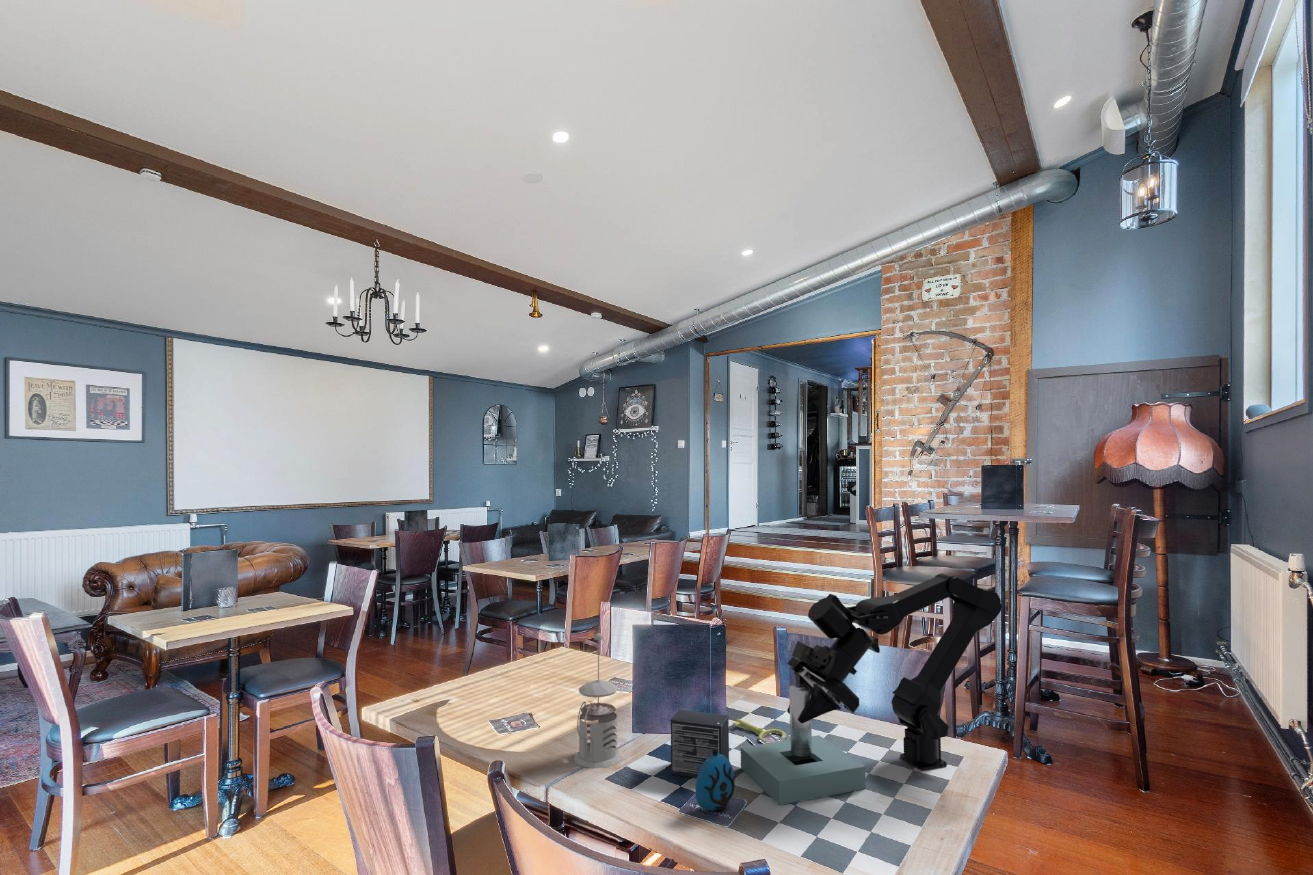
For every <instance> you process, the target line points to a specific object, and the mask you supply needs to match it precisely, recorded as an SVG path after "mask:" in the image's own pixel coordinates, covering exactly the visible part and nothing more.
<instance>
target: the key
mask: <svg viewBox="0 0 1313 875" xmlns="http://www.w3.org/2000/svg"><path fill="white" fill-rule="evenodd" d="M732 726H735V727H739V726H741V727H743V728H744V729H747V730H748V731H751V732H753V733H755V734H759V736H758V738H759V740H762V741H764V742H769V741H770V740H767V739H765V738H762V736H764V735H765V734H769V733H778V734H777V735H779V734H782V736H781V737H780V738H785V737H786V738H787V735H786V733H785V731H783V730H782V729H779V728H778V729H777V728H770V729H766V730H764V728H763V727H757V726H755V725H753V724H751V723H748V722H746V721H745V720H742V719H740V718H738V719H736V721H734V722H733V723H732ZM782 740H783V739H782Z"/></svg>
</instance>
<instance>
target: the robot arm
mask: <svg viewBox="0 0 1313 875" xmlns="http://www.w3.org/2000/svg"><path fill="white" fill-rule="evenodd" d="M946 599H950V600H952V601H953V603H952V619H951V621H950V622H949V624H948V626H947V627H946V629H945V631H944V632H943V634H942V636H941V637H940V638H939V640H938V642H937V644H936V645H935V647H934V648H933V650H932V651H931V653H930V655H929V656H928V658H927V660H926V661H925V662H924V665H923V666H922V668H921V670H920V672H919V673H917V676H914V677H913V678H912V679H909V678H907V677H904V676H903V677H902V679H900V681H899V683H898V685H897V687H896V688H895V690H893V691H892V694H893V697H892V699H891V703H890V704H891V706H892V711H893V713H894V714H895V715H896V716H897V719H898V722H899V724H901V725H903V726H905V727H907V728H904V737H903V753H899V757H900V759H903V760H904V761H906V762H907V763H909V764H911V765H912V766H914V767H916V768H918V769H919V770H922V771H923V770H930V769H935V768H940V767H945V766H948V762H947V761H945V760H944V759H942V749H941V748H942V745H941V742H942V741H941V739H942V738H946V737H947V734H948V733H949V732H948V731H949V727H950V726H949V725H948V724H947V723H946V722H945V720H943V719H942V718H941V716H939V715H938V714H939V712H940V709H941V707H942V706H941V705H942V704H941V692H942V690H943V689H944V686H945V685H946V684H947V681H948V680H949V678H950V676H951V675H952V673H953V672H954V669H955V668H956V667H957V665H958V664H959V661H960V660H961V658H962V657H963V654H964V653H965V651H966V650H967V648H968V646H969V645H970V643H971V641H973V638H974V637H975V635H976V634H977V633H978V632H979V631H981V630H983V629H985V628H986V627H989V626H990V625H991V624H992V623H993V621H995V619H997V617H998V616H999V615H1000V613H1001V612H1002V611H1001V610H1002V608H1003V604H1002V602H1001V601H1002V600H1001V598H1000V595H999V594H998V593H997V592H996V591H995V590H991V589H986V588H982V587H978V586H977V585H973V584H972V583H969V582H967V581H965V580H963V579H961V578H960V577H959V576H956V575H952V574H946V573H938V574H936V575H935V576H934V577H932V578H930V579H927V580H925V581H923V582H920V583H918V584H915V585H913V586H912V587H908V588H906V589H904V590H901V591H899V592H897V593H895V594H892V595H887V596H875V597H870V598H865V599H863V600H860V601H858V602H857V603H856V604H855V605H852V606H849V607H846V606H845V605H844V604H843V603H842V602H841V600H840V598H839V597H838V596H837V595H836V594H833V593H829V594H828V595H827V596H826V597H824V598H821V599H819V600H818V601H817V602H814V603H813V604H812V606H811V607H810V608H809V610H808V612H807V617H808V619H809V620H810V621H811V622H812V623H813V624H814V625H815V626H816V627H817V628H818V630H820V631H821V632H822V633H823V635H825V636H826V637H827V639H831V640H833V639H835V640H834V641H833V642H832V644H831V645H830V646H828V645H825V644H824V645H823V646H821V645H819V644H816V645H815V646H814V647H813V646H812V645H809V644H807V643H805V642H802V641H801V640H796V643H795V646H794V648H793V652H792V654H791V656H792V657H791V658H790V660H789V661H787V663H786V664H787V666H788V667H789V668H790V669H791V670H792V671H793V675H794V677H795V685H806V686H809V687H810V688H811V698H810V700H809V701H808V703H807V705H806V706H805V708H804V709H803V711H802V712H801V714H800V716H799V717H798V721H799V722H800V723H805V722H807V721H809V720H811V721H812V720H813V719H815V718H818V717H820V716H822V715H825V714H828V713H830V712H833V711H836V710H839V711H840V710H841V709H842V707H841V706H840V704H841V703H842V704H843V707H844V709H845V710H847V711H848V712H850V713H851V714H854V713H856V711H857V710H858V709H859V707H860V698H859V697H858V696H857V694H856V693H854V692H853V690H851V689H850V688H849V686H848V685H846V683H845V682H844V681H845V679H847V677H848V676H849V675H850V674H851V675H853V676H856V674H857V672H858V671H857V669H856V668H855V667H856V666H857V664H858V663H859V661H861V659H862V658H863V656H864V655H865V654H866V652H867V651H868V650H870V651H872V652H875V653H877V654H879V653H880V652H881V649H880V645H879V637H875V636H873V635H871V636H870V635H869V633H868V632H867V631H870V632H873V633H875V634H877V635H882V636H883V635H886V634H888V633H890V632H891V631H893V630H894V629H896V628H897V627H899V626H900V624H902V622H903V620H904V618H906V617H908V616H909V615H912V614H915V613H916V612H919V611H921V610H923V609H926V608H927V607H930V606H932V605H934V604H936V603H939V602H941V601H944V600H946ZM853 623H854V624H856V625H858V626H859V627H856V626H855V625H854V624H853ZM866 630H867V631H866ZM786 712H787V714H789V715H790V703H789V704H788V707H787V710H786Z"/></svg>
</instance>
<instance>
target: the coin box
mask: <svg viewBox="0 0 1313 875" xmlns="http://www.w3.org/2000/svg"><path fill="white" fill-rule="evenodd" d="M810 759H813V760H814V762H808V763H803V764H795V763H793V762H798V761H804V760H810ZM740 769H741V771H743V772H744V773H745V774H746V775H747V776H748V777H749V778H751V779H752V781H754V782H755V783H756V784H757V785H758V786H759V787H760V788H761V789H762V790H763V791H764V792H765V793H766V794H767V795H768V796H769V797H770V798H772V800H773V801H775V802H776V804H778V805H779V806H784V805H787V804H792V803H797V802H803V801H807V800H808V801H809V800H814V799H819V798H823V797H824V798H825V797H829V796H833V795H834V796H836V795H839V794H844V793H850V792H855V791H860V790H866V788H867V786H866V785H867V784H866V765H864V764H862V763H861V762H860V761H858V760H857V759H855V758H854V757H853V756H851V755H849V754H848V753H846V752H845V751H843V750H842V749H841V748H839V747H837V746H836V745H834V744H833V743H831V742H830V741H829V740H828V739H825V738H824V737H822V736H821V735H819V734H817V735H812V754H811V755H810V756H806V757H801V756H796V755H794V754H792V753H791V747H790V739H785V740H784V741H778V742H772V743H766V744H762V743H760V744H759V743H758V744H753V745H747V746H741V747H740Z"/></svg>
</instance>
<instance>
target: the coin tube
mask: <svg viewBox="0 0 1313 875" xmlns="http://www.w3.org/2000/svg"><path fill="white" fill-rule="evenodd" d="M788 688H789V689H788V690H789V691H788V692H789V696H788V697H789V704H790V714H789V735H790V738H789V740H790V747H791V753H792V754H794V755H796V756H801V757H806V756H810V755H811V754H812V736H813V735H812V734H813V733H812V732H813V731H812V729H813V728H812V719H811V720H809V721H807V722H805V723H800V722H799V721H798V717H799V716H800V714H801V712H802V711H803V709H804V708H805V706H806V705H807V703H808V701H809V700H810V698H811V688H810V687H809V686H806V685H796V684H792V685H790V686H789V687H788Z"/></svg>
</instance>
